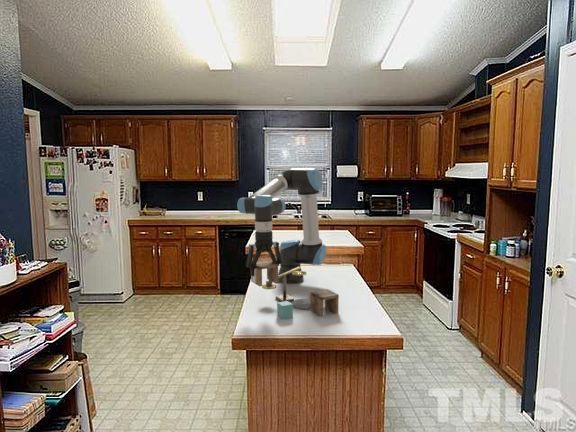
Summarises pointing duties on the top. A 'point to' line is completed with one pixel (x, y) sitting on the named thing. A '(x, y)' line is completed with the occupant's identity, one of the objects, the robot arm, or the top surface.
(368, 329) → the top surface
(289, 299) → the balance
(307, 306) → the dish
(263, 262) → the cover
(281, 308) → the block
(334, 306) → the cover
